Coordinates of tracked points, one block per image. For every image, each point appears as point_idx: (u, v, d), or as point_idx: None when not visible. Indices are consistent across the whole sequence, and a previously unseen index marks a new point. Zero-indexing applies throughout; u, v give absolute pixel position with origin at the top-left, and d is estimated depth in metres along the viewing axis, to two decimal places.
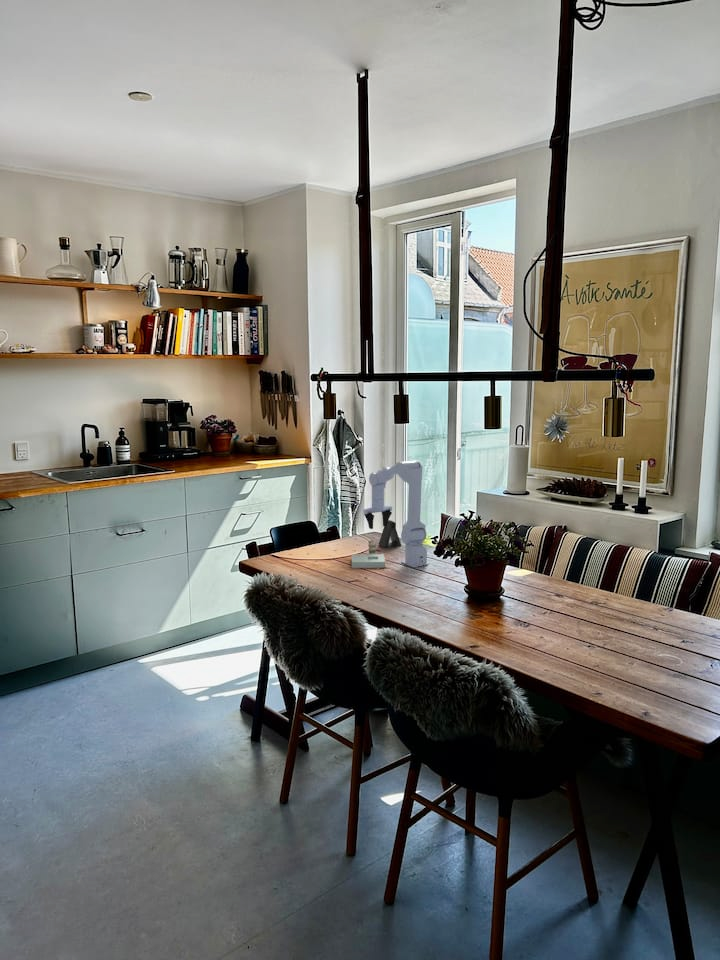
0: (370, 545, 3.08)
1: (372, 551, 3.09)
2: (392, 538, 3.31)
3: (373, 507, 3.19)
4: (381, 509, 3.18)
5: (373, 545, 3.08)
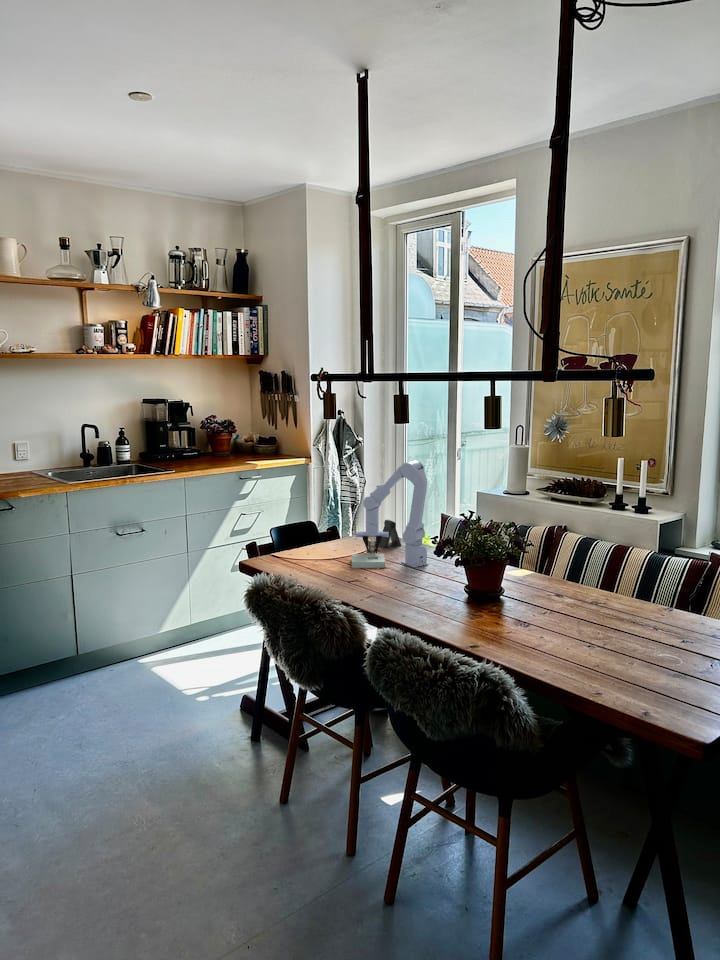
0: (370, 545, 3.08)
1: (372, 551, 3.09)
2: (392, 538, 3.31)
3: (365, 531, 3.08)
4: (372, 534, 3.06)
5: (373, 545, 3.08)
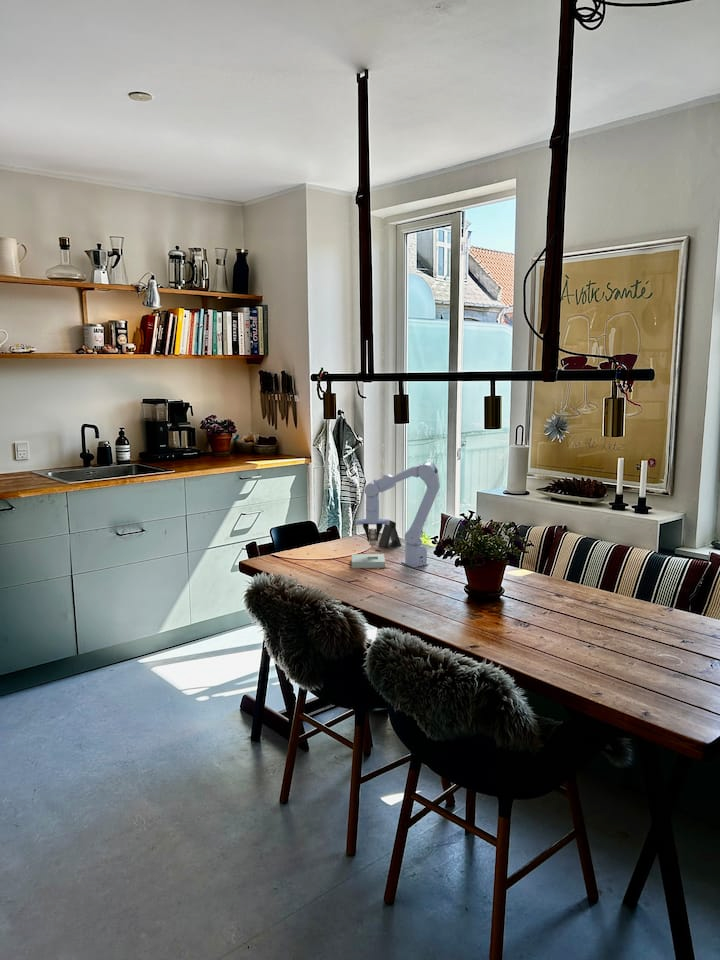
0: (370, 533, 3.02)
1: (372, 539, 3.02)
2: (392, 538, 3.31)
3: (366, 518, 3.01)
4: (372, 521, 2.99)
5: (373, 533, 3.02)
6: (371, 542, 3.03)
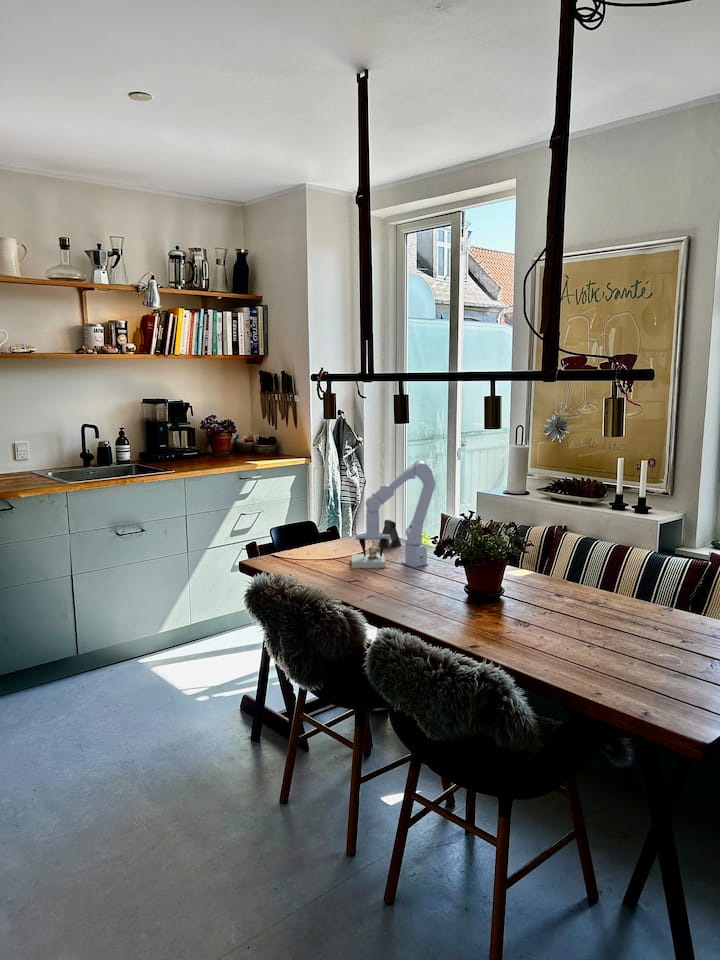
0: (371, 551, 2.98)
1: (373, 558, 2.98)
2: (392, 538, 3.31)
3: (366, 533, 2.98)
4: (373, 537, 2.95)
5: (374, 551, 2.98)
6: None
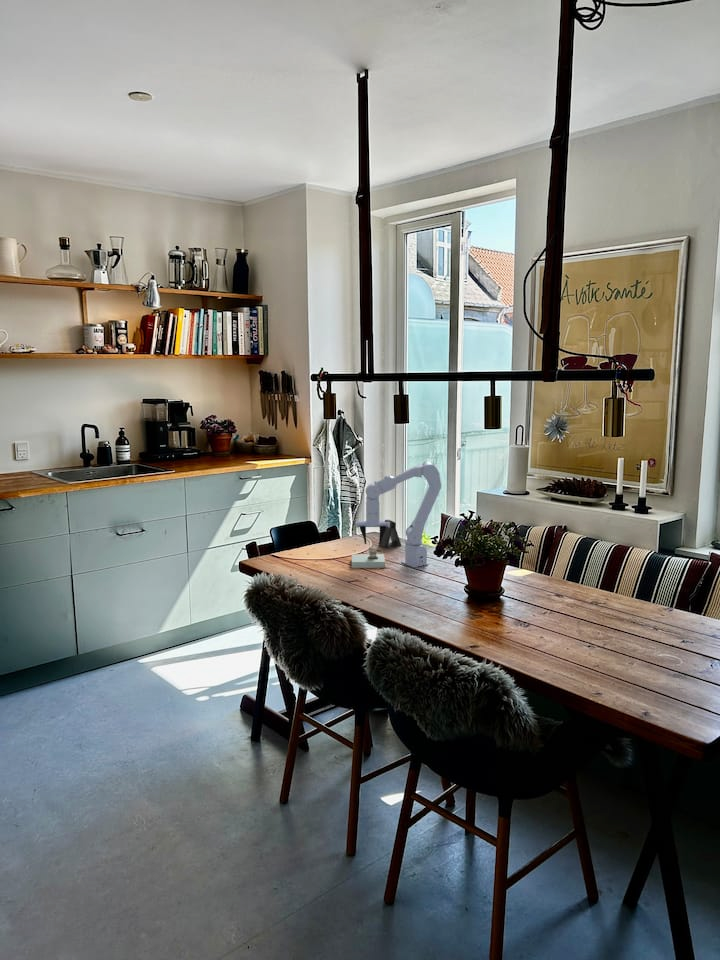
0: (371, 551, 2.98)
1: (373, 558, 2.98)
2: (392, 538, 3.31)
3: (366, 521, 2.97)
4: (373, 524, 2.94)
5: (374, 551, 2.98)
6: None
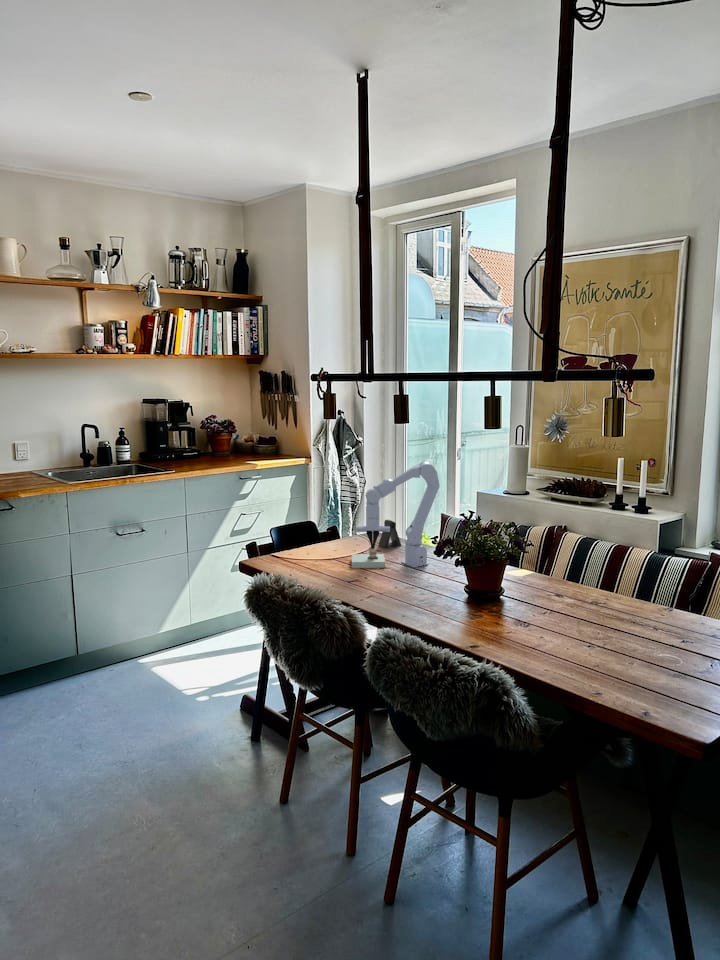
0: (371, 552, 2.98)
1: (373, 558, 2.98)
2: (392, 538, 3.31)
3: (366, 526, 2.97)
4: (372, 529, 2.95)
5: (374, 551, 2.98)
6: None
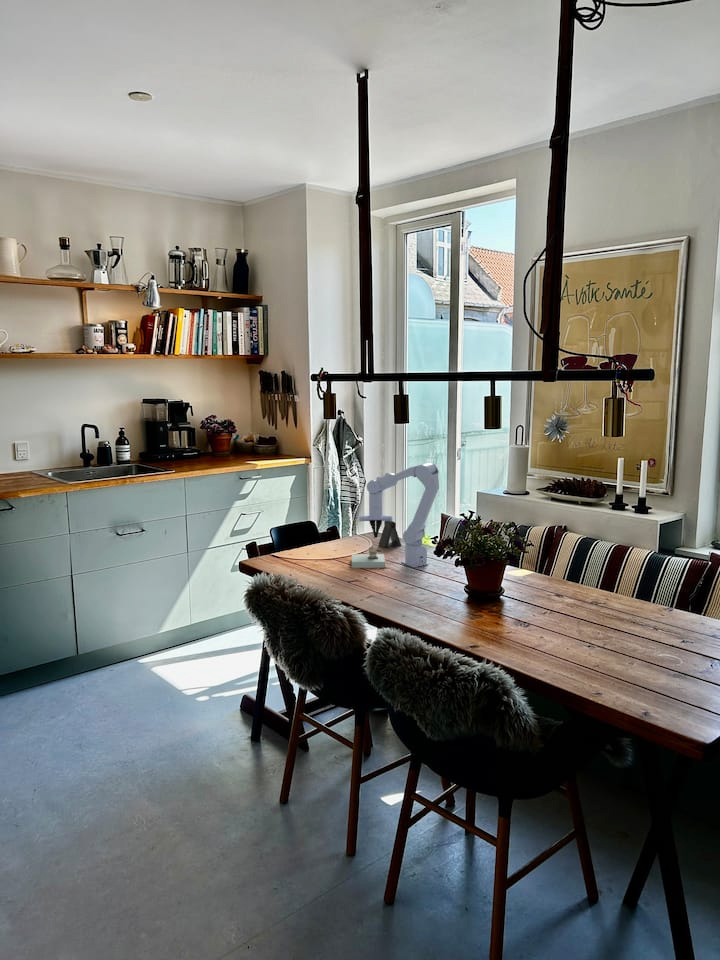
0: (371, 551, 2.98)
1: (373, 558, 2.98)
2: (392, 538, 3.31)
3: (369, 515, 3.06)
4: (375, 518, 3.03)
5: (374, 551, 2.98)
6: None
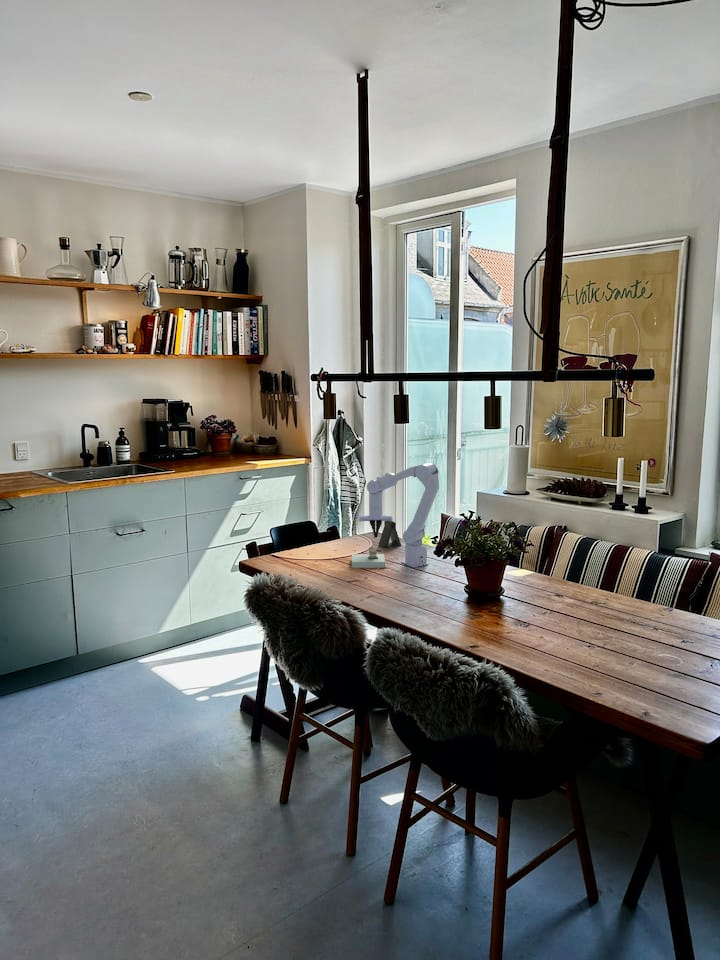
0: (371, 551, 2.98)
1: (373, 558, 2.98)
2: (392, 538, 3.31)
3: (369, 515, 3.06)
4: (375, 518, 3.03)
5: (374, 551, 2.98)
6: None
